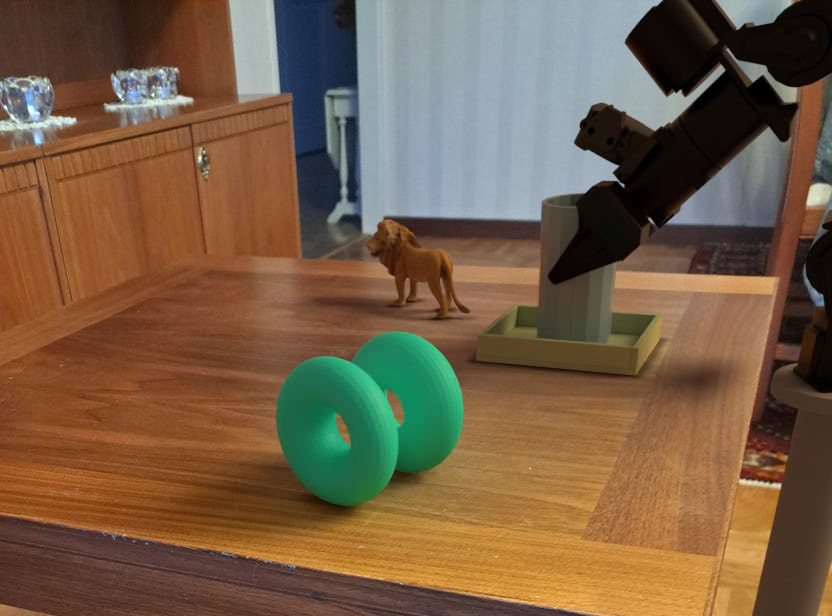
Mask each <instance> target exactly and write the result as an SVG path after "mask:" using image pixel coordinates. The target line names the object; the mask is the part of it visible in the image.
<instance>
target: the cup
mask: <svg viewBox="0 0 832 616" xmlns="http://www.w3.org/2000/svg"><path fill="white" fill-rule="evenodd" d="M585 193H586V192H575V193H574V192H573V193H565V194H564V193H563V194H559V195H558V194H557V195H553V196H549V197H546V198H545V199H543V200H541V209H540V210H541V211H540V231H539V233H540V234H539V255H538V256H539V257H538V258H539V260H538V281H537V283H538V284H537V305H536V306H537V328H536V338H543V339H555V340H567V341H579V342H591V343H604V344H609V339H610V335H611V323H612V311H614V298H615V287H616V286H615V285H616V277H617V276H616V275H617V273H616V272H617V265H618V264H617V263H618V262H615V263H612V264H609V265H607V266H604V267H601V268H599V269H596V270H593V271H591V272H588V273H585V274H582V275H580V276H577V277H575V278H572V279H569V280H567V281H564V282H562V283H559V284H556V285H553V284H552V283H551V281H550V280H549V279H548V274H549V272H550V271H551V270H552V268H553V267H554V265H555V264H556V262H557V261H558V259H559V258H560V256H561V255H562V253H563V252H564V251H565V249H566V248H567V246H568V245H569V243H570V242H571V240H572V239H573V237H574V236H575V234H576V233H577V231H578V228H579V215H578V213H577V207H576V205H575V203H576V202H577V201H578V200H579V199H580V198H581V197H582V196H583V195H584V194H585Z"/></svg>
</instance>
